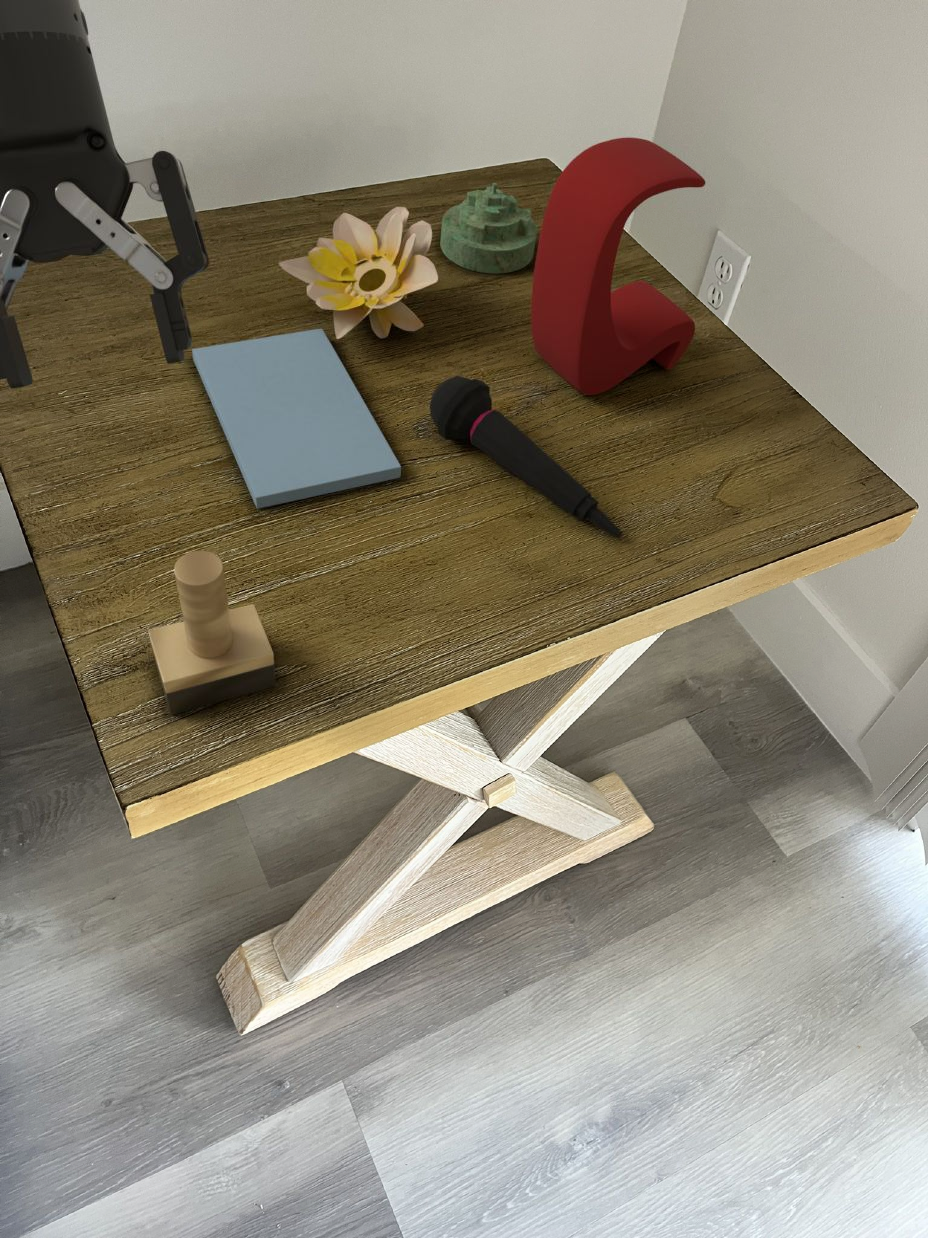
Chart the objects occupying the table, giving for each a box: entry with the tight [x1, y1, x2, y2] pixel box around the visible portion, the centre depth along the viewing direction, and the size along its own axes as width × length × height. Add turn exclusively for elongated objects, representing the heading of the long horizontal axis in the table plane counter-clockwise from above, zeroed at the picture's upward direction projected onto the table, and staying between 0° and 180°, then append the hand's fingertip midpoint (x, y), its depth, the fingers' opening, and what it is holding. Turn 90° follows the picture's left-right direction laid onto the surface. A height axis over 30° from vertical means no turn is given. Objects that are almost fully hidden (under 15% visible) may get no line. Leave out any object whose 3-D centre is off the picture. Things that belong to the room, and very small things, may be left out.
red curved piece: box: [530, 136, 706, 396], centre depth 85 cm, size 15×7×20 cm, turn 123°
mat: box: [191, 328, 402, 510], centre depth 83 cm, size 12×20×1 cm, turn 24°
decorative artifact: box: [439, 182, 538, 275], centre depth 102 cm, size 10×7×10 cm
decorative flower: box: [278, 206, 439, 340], centre depth 91 cm, size 15×11×10 cm
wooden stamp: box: [147, 550, 277, 716], centre depth 62 cm, size 7×4×11 cm, turn 114°
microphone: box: [429, 375, 623, 539], centre depth 80 cm, size 6×6×20 cm
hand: (100, 373), depth 55 cm, fingers open, 8 cm apart
